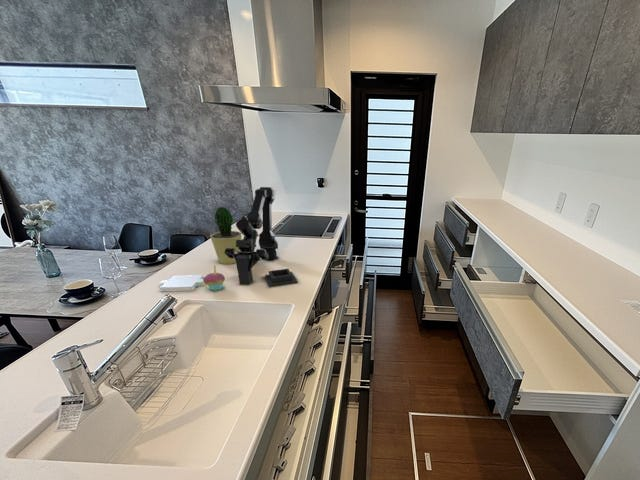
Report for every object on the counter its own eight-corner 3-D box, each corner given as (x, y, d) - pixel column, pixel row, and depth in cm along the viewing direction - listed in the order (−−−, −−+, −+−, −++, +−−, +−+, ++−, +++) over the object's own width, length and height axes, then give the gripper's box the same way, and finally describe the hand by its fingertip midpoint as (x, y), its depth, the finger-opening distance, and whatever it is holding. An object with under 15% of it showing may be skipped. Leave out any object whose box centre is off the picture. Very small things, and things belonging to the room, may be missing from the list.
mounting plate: (154, 291, 131) (153, 287, 130) (169, 279, 142) (168, 275, 142) (198, 290, 133) (197, 286, 132) (209, 278, 145) (208, 275, 144)
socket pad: (265, 276, 148) (264, 270, 147) (291, 273, 154) (291, 266, 152) (269, 287, 138) (268, 280, 136) (297, 282, 143) (297, 276, 141)
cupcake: (230, 286, 138) (226, 261, 133) (216, 294, 130) (211, 268, 125) (215, 283, 140) (210, 259, 135) (200, 290, 133) (195, 265, 128)
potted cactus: (208, 262, 164) (197, 206, 152) (230, 254, 177) (221, 202, 165) (230, 267, 159) (220, 209, 147) (251, 258, 172) (243, 205, 160)
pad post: (243, 280, 144) (239, 254, 139) (253, 280, 144) (249, 254, 139) (239, 284, 140) (235, 257, 135) (249, 284, 140) (245, 258, 134)
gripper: (222, 231, 136) (214, 262, 131) (263, 232, 136) (257, 264, 130) (233, 242, 147) (226, 272, 141) (271, 244, 146) (265, 273, 141)
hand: (243, 270), depth 138 cm, fingers closed on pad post, 4 cm apart
